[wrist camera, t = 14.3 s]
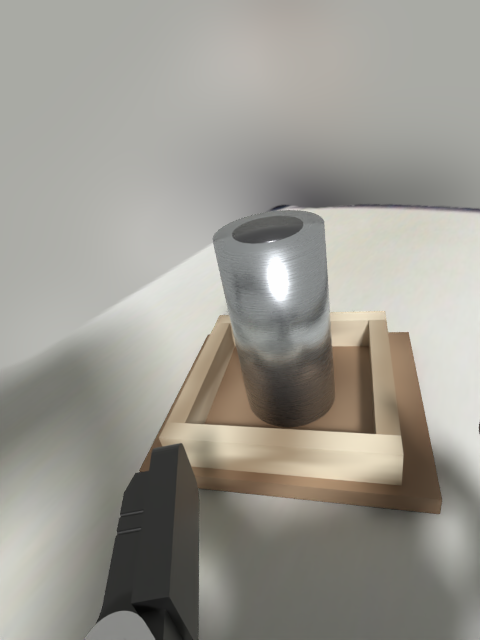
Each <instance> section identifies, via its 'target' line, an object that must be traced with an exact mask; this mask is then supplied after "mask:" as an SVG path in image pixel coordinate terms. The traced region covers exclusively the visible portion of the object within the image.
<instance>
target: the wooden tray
mask: <svg viewBox="0 0 480 640" xmlns="http://www.w3.org/2000/svg"><path fill="white" fill-rule="evenodd" d="M330 320H331V336H332V351H333V366H334V382H335V400H334V403H333V405H332V407H331V409H330V410H329V411H328V412H327V413H326V414H325V415H324V416H323V417H321V418H320V419H318V420H316V421H314V422H312V423H310V424H307V425H303V426H298V427H279V426H275V425H271V424H268V423H266V422H264V421H262V420H261V419H259V418H258V417H257V416H256V415H255V414H254V413H253V412H252V410H251V408H250V405H249V402H248V397H247V393H246V388H245V384H244V379H243V375H242V370H241V366H240V361H239V357H238V352H237V348H236V343H235V339H234V334H233V330H232V325H231V321H230V316H229V315H220V316H219V318H218V320H217V322H216V324H215V326H214V328H213V330H212V332H211V334H210V335H208V336H207V338H206V340H205V342H204V344H203V346H202V348H201V350H200V352H199V353H198V355H197V357H196V359H195V361H194V363H193V365H192V367H191V369H190V371H189V373H188V375H187V377H186V379H185V381H184V383H183V385H182V387H181V389H180V391H179V393H178V395H177V397H176V399H175V401H174V403H173V405H172V407H171V409H170V411H169V413H168V415H167V417H166V419H165V421H164V423H163V425H162V427H161V429H160V431H159V433H158V435H157V437H156V439H155V441H154V443H153V445H152V447H151V449H150V450H149V452H148V454H147V456H146V458H145V460H144V462H143V464H142V466H141V468H140V472H144V471H149V467H150V459H151V453H152V450H153V449H154V448H157V447H162V446H168V445H173V444H178V443H182V444H183V446H184V448H185V451H186V454H187V456H188V459H189V462H190V464H191V467H192V470H193V473H194V475H195V478H196V482H197V486H198V488H200V489H210V490H219V491H229V492H238V493H247V494H257V495H266V496H275V497H285V498H294V499H303V500H313V501H322V502H332V503H341V504H350V505H360V506H369V507H378V508H388V509H397V510H406V511H416V512H425V513H434V514H440V511H441V504H442V497H441V492H440V487H439V482H438V477H437V472H436V467H435V462H434V457H433V452H432V447H431V442H430V437H429V432H428V427H427V422H426V417H425V412H424V407H423V402H422V397H421V392H420V387H419V382H418V377H417V372H416V367H415V362H414V357H413V352H412V347H411V342H410V337H409V332H389V333H388V329H387V322H386V314H385V311H366V312H330Z"/></svg>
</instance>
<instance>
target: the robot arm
mask: <svg viewBox="0 0 480 640" xmlns="http://www.w3.org/2000/svg"><path fill="white" fill-rule="evenodd" d="M479 433H480V424H479ZM120 515H121V517H120V518H119V523H118V528H117V536H116V538H115V544H114V549H113V554H112V559H111V565H110V570H109V575H108V581H107V586H106V591H105V596H104V602H103V606H102V610H101V613H100V616H99V618H98V620H97V622H96V624H95V626H94V627H93V628H92V629H91V630H90V631H89V633H88V634H87V635H86V637H85V639H84V640H198V614H199V493H198V486H197V482H196V478H195V475H194V473H193V470H192V467H191V464H190V462H189V459H188V456H187V454H186V451H185V448H184V446H183V444H182V443H178V444H173V445H168V446H162V447H157V448H154V449H153V450H152V453H151V459H150V467H149V471H144V472H139V473H135V475H134V477H133V478H132V480H131V482H130V483H129V485H128V487H127V489H126V490H125V492H124V496H123V501H122V507H121V512H120Z"/></svg>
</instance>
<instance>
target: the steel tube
mask: <svg viewBox="0 0 480 640" xmlns="http://www.w3.org/2000/svg"><path fill="white" fill-rule="evenodd" d="M213 244H214V249H215V253H216V258H217V262H218V267H219V271H220V276H221V280H222V285H223V289H224V294H225V298H226V303H227V307H228V312H229V316H230V321H231V325H232V330H233V334H234V339H235V343H236V348H237V352H238V357H239V361H240V366H241V370H242V375H243V379H244V384H245V388H246V393H247V397H248V402H249V405H250V408H251V410H252V412H253V413H254V414H255V415H256V416H257V417H258V418H259V419H261V420H262V421H264V422H266V423H268V424H271V425H275V426H279V427H298V426H303V425H307V424H310V423H312V422H314V421H316V420H318V419H320V418H321V417H323V416H324V415H325V414H326V413H327V412H328V411H329V410H330V409H331V407H332V405H333V403H334V400H335V382H334V366H333V351H332V336H331V320H330V305H329V290H328V275H327V259H326V244H325V229H324V220H323V219H322V218H321V217H320V216H319V215H316V214H314V213H311V212H306V211H296V210H284V211H272V212H265V213H260V214H255V215H251V216H248V217H244V218H241V219H238V220H236V221H233V222H231V223H229V224H227V225H225V226H224V227H222V228H221V229H219V230H218V231H217V232H216V233H215V235H214V236H213Z"/></svg>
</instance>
